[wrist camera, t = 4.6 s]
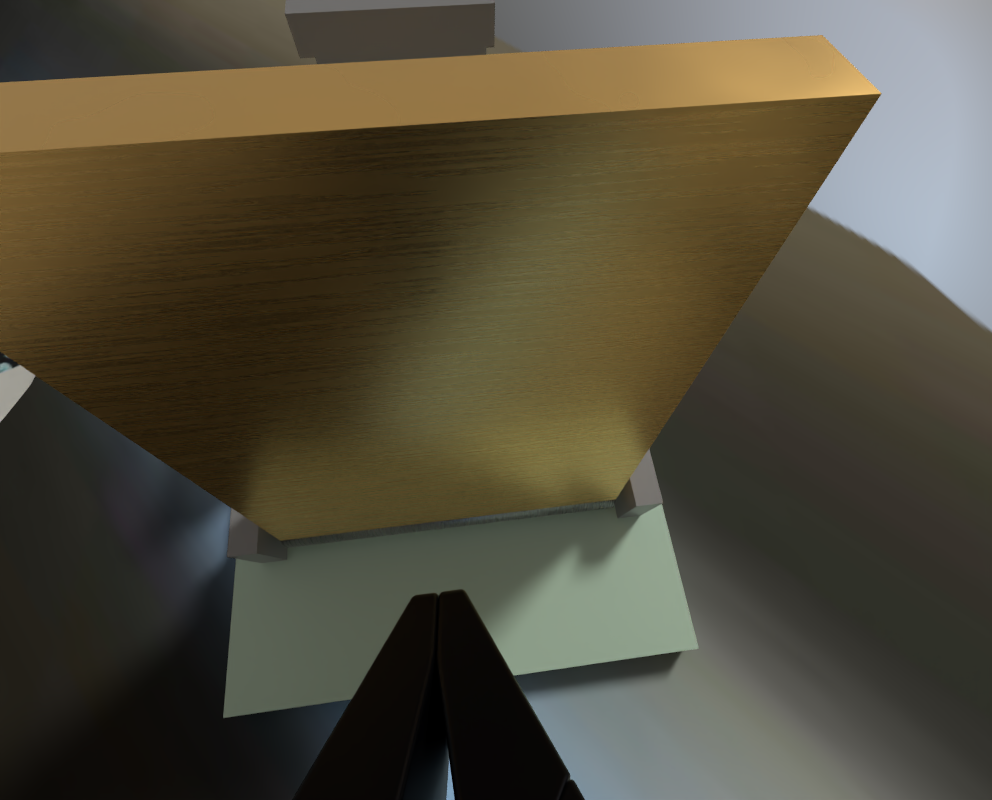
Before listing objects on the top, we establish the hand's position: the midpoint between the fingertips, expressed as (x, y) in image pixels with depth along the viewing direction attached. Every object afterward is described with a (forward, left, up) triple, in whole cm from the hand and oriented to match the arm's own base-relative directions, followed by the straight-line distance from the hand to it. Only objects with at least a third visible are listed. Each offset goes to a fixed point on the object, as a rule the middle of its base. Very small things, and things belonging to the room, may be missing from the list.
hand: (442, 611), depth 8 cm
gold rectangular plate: (+2, +2, -6) cm, 7 cm away
